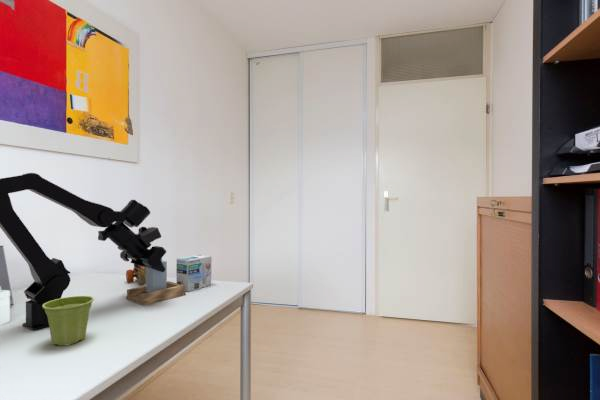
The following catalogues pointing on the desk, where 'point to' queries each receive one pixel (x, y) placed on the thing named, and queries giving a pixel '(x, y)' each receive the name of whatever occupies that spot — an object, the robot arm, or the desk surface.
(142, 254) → the robot arm
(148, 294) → the cradle
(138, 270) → the toy helicopter
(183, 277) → the light bulb box
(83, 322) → the plant pot
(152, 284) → the box with grey fin
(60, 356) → the desk surface
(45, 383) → the desk surface
